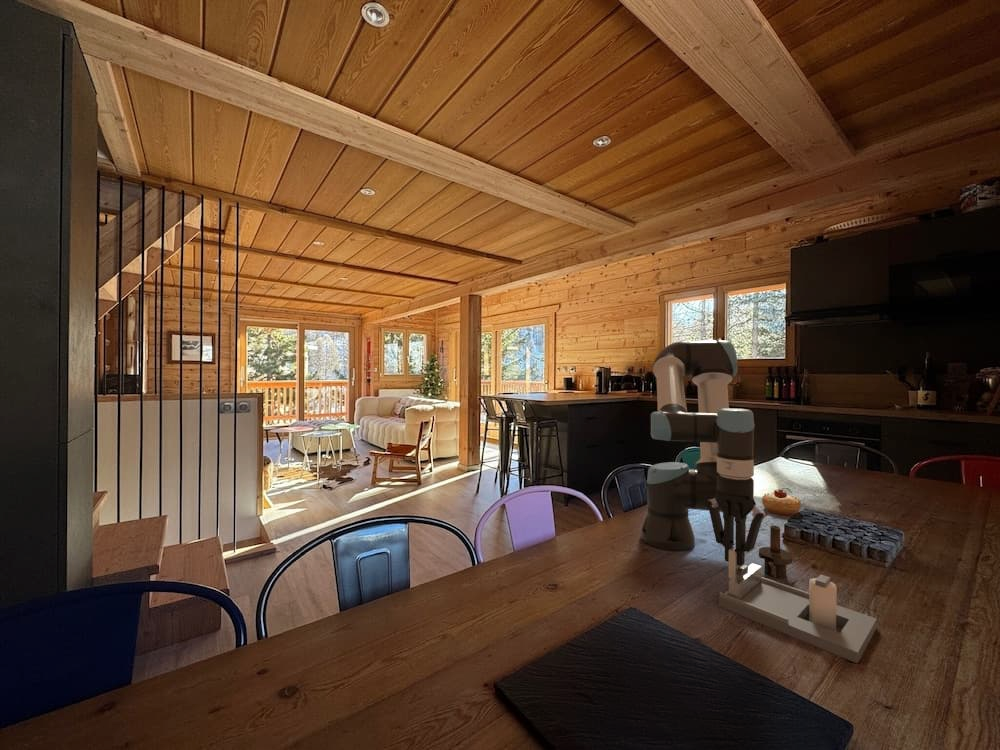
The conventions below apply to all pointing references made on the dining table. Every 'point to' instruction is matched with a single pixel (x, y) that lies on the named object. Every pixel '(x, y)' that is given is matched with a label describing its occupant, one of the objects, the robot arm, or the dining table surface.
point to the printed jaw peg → (822, 602)
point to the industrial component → (775, 555)
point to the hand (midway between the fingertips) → (734, 577)
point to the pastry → (781, 503)
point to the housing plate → (802, 618)
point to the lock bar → (745, 580)
